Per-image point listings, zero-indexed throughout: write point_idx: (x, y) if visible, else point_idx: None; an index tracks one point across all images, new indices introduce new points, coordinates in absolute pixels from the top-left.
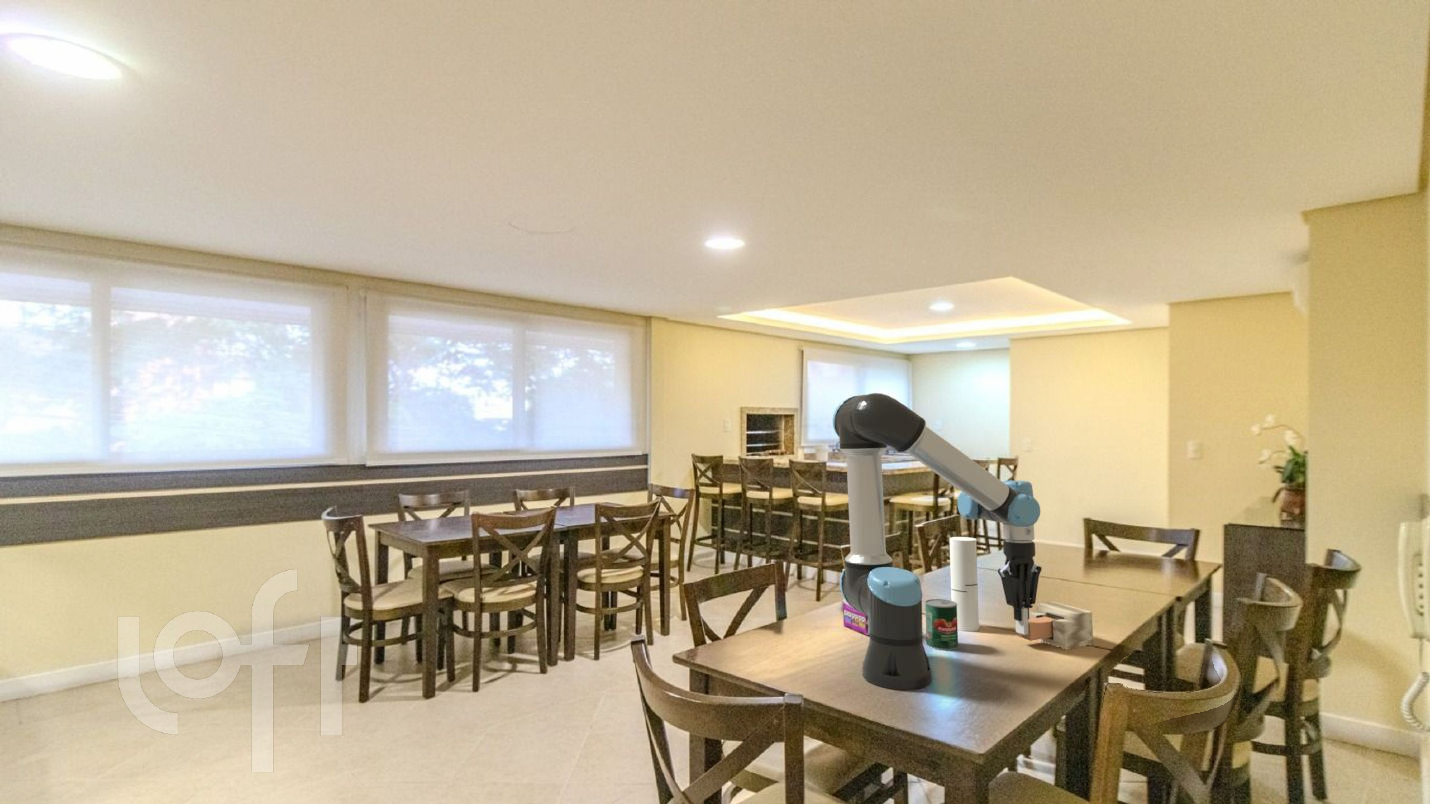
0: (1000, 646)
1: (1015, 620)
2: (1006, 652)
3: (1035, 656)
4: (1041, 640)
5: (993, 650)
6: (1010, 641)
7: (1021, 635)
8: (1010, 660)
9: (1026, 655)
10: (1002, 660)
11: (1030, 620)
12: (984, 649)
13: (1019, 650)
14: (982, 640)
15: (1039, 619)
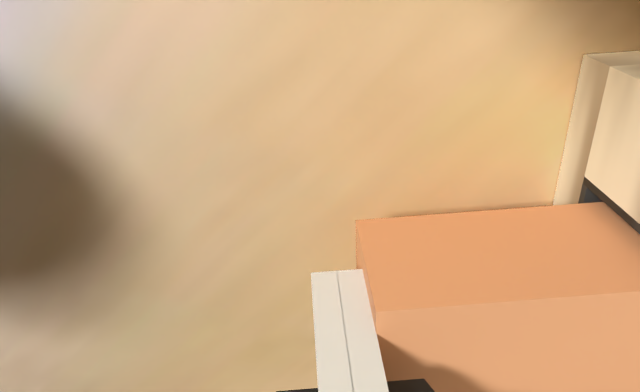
0: (179, 187)
1: (317, 350)
2: (139, 290)
3: (265, 376)
4: (559, 198)
5: (70, 239)
6: (346, 114)
7: (358, 260)
8: (76, 388)
9: (227, 355)
10: (27, 378)
11: (509, 335)
12: (11, 205)
13: (252, 284)
14: (121, 5)
15: (622, 335)
